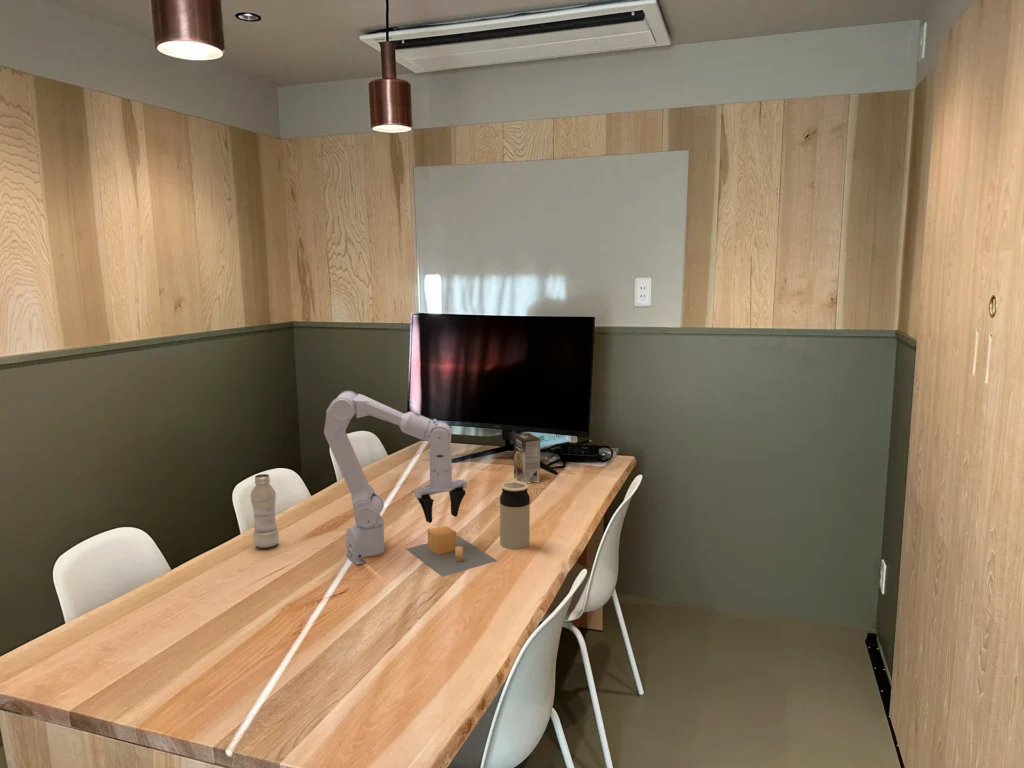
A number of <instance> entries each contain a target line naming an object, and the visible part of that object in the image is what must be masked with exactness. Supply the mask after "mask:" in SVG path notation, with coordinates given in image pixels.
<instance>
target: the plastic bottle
mask: <svg viewBox="0 0 1024 768" xmlns="http://www.w3.org/2000/svg"><path fill="white" fill-rule="evenodd" d="M270 479H271V478H270V474H268V473H261V474H256V475H255V476H254V484H255V486H254V487H253V488H252V490H251V492H250V497H249V498H250V501H251V506H252V511H253V517H254V525H253V526H254V530H253V539H252V540H253V543H254V545H255V546H256V547H257V548H259V549H260V548H261V549H267V548H268V549H269V548H272V547H275V546H277V544H278V543H279V541H280V533H279V530H278V526H277V520H276V519H277V518H276V499H277V497H276V496H277V493H276V490H275V489H274V487H273V486H272V485H271V484H270V482H271V480H270Z"/></svg>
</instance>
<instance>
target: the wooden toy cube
mask: <svg viewBox="0 0 1024 768" xmlns="http://www.w3.org/2000/svg"><path fill="white" fill-rule="evenodd" d="M456 536H457V531H456V530H454V529H452V528H451V527H449V526H448V525H443V526H439V527H434V528H430V529H427V543H428V548H429V549H430V550H432V551H433V552H435V553H436V554H437V555H440V554H443V553H447V552H451V551H454V550H455V547H457V542H456Z"/></svg>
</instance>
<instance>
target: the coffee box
mask: <svg viewBox="0 0 1024 768" xmlns="http://www.w3.org/2000/svg"><path fill="white" fill-rule="evenodd" d="M540 468H541V437H537V436H536V435H534V434H532V433H531V432H525V433H524V432H522V433H514V434H513V478H514V479H516V478H517V479H516V480H517V481H519V480H520V481H522V482H525V483H527V482H535V481H540V479H541V478H540V476H541V474H540V473H541V472H540V471H541V469H540ZM540 482H541V481H540Z"/></svg>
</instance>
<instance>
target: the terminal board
mask: <svg viewBox="0 0 1024 768" xmlns="http://www.w3.org/2000/svg"><path fill="white" fill-rule="evenodd" d="M456 542H457V547H455V550H454V551H451V552H447V553H443V554H440V555H437V554H436V553H435V552H433V551H432V550H430V549H429V548H428V542H427V543H424V544H420V545H415V546H411V547H408V548H405V549H406V550H407V551H408V552H409V553H410V554H412V555H413V556H414V557H416V558H417V559H418V560H419V561H421V562H422V563H424V564H425V565H426V566H428V567H429V568H430V569H432V570H433V571H434V572H436V574H438V575H439V576H440V577H446V576H449V575H453V574H456V573H461V572H463V571H467V570H470V569H474V568H477V567H480V566H484V565H487V564H490V563H494V562H498V560H497V559H496V558H494V557H493V556H491V555H489V554H488V553H487V552H485V551H483V550H481V549H480V548H478V547H476V546H475V545H473V544H472V543H470V542H469V541H467V540H466V539H464V538H462V537H461V536H459V535H456Z"/></svg>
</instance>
